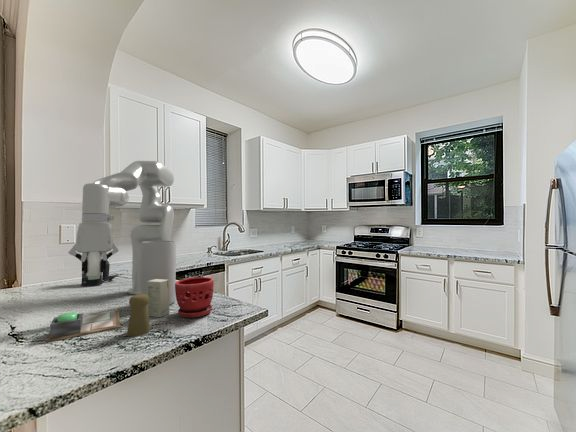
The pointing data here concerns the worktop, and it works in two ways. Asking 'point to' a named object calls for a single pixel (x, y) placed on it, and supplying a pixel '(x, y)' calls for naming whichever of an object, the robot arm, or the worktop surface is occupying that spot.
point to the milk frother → (103, 276)
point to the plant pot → (194, 296)
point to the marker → (94, 265)
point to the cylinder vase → (159, 264)
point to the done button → (67, 317)
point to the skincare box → (158, 297)
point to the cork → (138, 315)
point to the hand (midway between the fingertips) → (94, 271)
